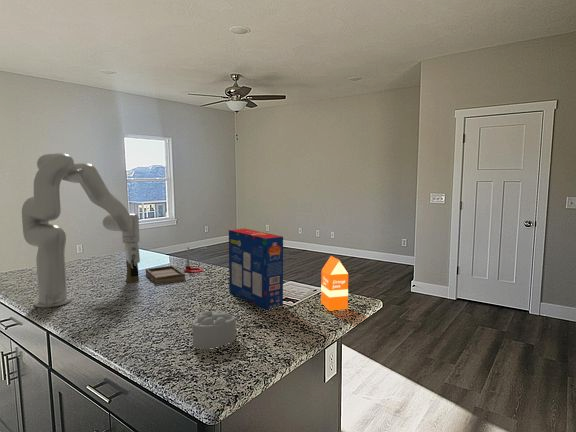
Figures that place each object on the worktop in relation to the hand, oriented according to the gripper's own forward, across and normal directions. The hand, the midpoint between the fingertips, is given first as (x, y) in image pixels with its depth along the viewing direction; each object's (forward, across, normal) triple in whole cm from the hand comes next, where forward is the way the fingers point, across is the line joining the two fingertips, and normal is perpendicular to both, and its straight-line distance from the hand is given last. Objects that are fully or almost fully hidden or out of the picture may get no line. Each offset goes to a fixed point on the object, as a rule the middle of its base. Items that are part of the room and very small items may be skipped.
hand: (132, 273), depth 179 cm
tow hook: (+4, +3, -32) cm, 32 cm away
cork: (+4, 0, 0) cm, 4 cm away
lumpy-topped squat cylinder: (+4, -84, -7) cm, 84 cm away
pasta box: (+4, -56, -37) cm, 67 cm away
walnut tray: (+4, -2, -15) cm, 15 cm away
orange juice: (+4, -82, -58) cm, 101 cm away
